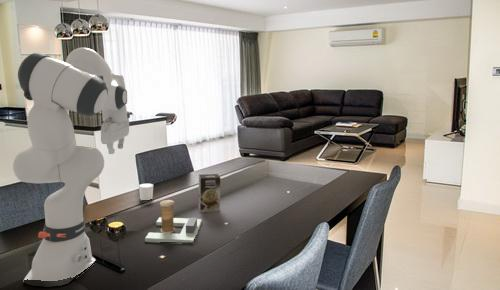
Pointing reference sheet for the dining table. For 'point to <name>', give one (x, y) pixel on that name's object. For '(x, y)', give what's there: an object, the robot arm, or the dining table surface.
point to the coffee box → (209, 193)
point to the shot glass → (146, 191)
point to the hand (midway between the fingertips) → (116, 151)
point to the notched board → (186, 234)
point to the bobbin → (167, 216)
